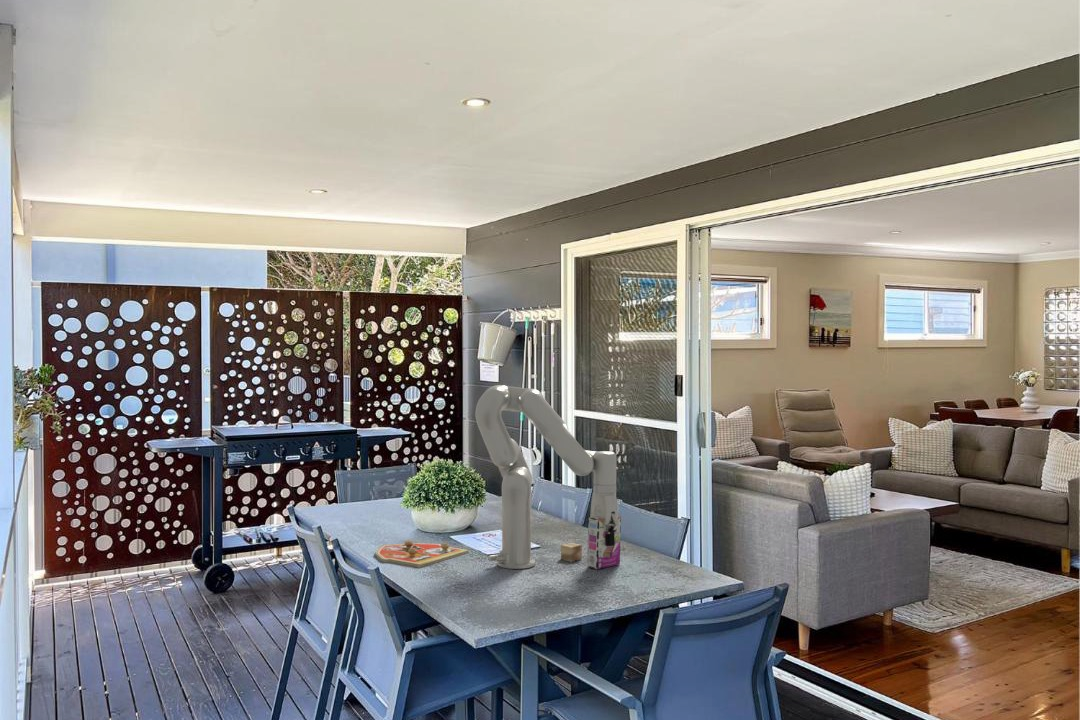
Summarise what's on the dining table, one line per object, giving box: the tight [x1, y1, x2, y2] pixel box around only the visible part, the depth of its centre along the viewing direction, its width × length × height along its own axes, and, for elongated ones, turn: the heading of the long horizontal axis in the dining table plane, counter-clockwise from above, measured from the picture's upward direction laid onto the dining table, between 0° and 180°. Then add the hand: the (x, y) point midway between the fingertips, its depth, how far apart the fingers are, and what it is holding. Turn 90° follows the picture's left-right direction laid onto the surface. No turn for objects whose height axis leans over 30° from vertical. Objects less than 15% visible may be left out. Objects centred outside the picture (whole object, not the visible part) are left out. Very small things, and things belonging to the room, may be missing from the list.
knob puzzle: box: [375, 539, 470, 569], centre depth 299 cm, size 29×30×4 cm
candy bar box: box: [586, 515, 622, 570], centre depth 283 cm, size 11×5×16 cm, turn 132°
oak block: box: [560, 542, 583, 562], centre depth 292 cm, size 5×5×5 cm
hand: (604, 543), depth 283 cm, fingers closed on candy bar box, 5 cm apart
